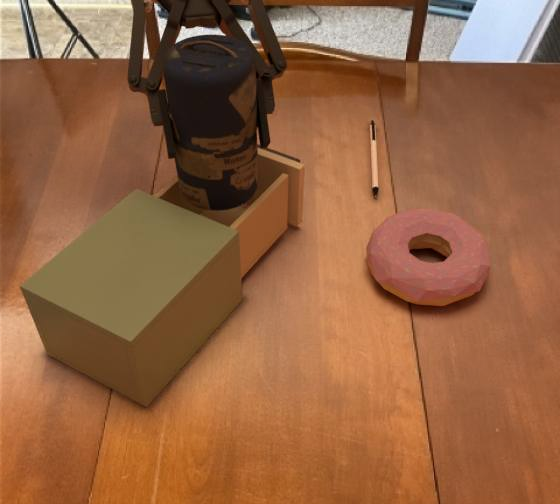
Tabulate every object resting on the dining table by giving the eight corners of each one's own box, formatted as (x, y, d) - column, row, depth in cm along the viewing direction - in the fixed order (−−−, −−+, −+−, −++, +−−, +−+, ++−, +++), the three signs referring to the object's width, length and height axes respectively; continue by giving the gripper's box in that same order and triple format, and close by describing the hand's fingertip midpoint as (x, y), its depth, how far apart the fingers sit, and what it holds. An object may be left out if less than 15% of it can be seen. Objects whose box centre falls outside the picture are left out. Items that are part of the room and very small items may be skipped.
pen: (374, 123, 107) (375, 117, 106) (378, 199, 95) (379, 192, 94) (369, 123, 107) (370, 117, 106) (372, 199, 95) (373, 192, 94)
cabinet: (148, 258, 87) (135, 188, 79) (242, 300, 83) (239, 230, 74) (46, 354, 77) (19, 285, 69) (146, 407, 73) (130, 341, 64)
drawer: (238, 173, 97) (235, 116, 90) (318, 204, 93) (322, 146, 86) (142, 263, 85) (130, 205, 78) (229, 302, 81) (225, 245, 74)
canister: (229, 227, 77) (219, 76, 63) (162, 199, 80) (139, 48, 66) (273, 184, 82) (274, 34, 68) (209, 159, 85) (197, 11, 71)
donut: (460, 331, 80) (470, 302, 76) (344, 286, 84) (347, 256, 81) (501, 254, 88) (511, 224, 85) (393, 217, 93) (398, 186, 89)
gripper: (284, -59, 76) (311, 146, 79) (82, -44, 73) (118, 169, 76) (296, -97, 68) (326, 130, 71) (72, -83, 65) (112, 155, 68)
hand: (219, 150), depth 73 cm, fingers closed on canister, 9 cm apart
